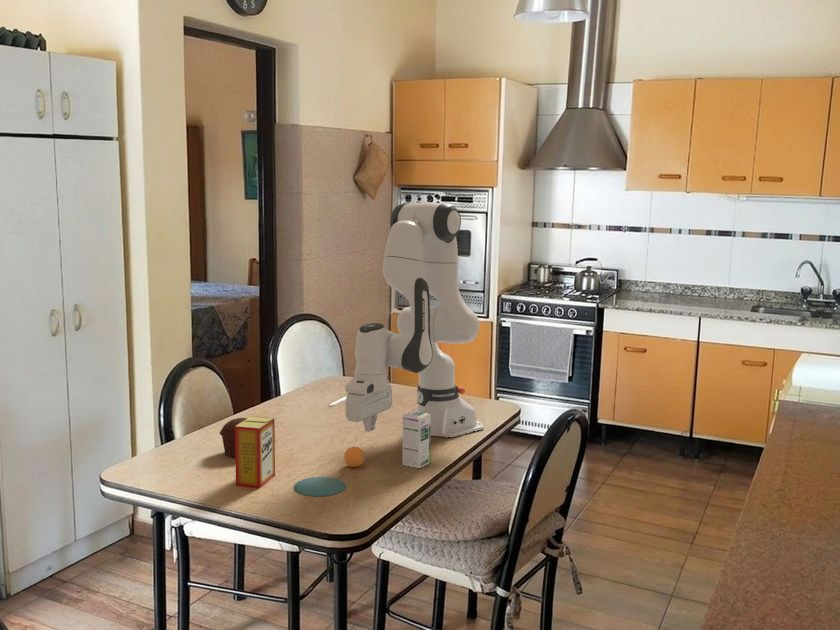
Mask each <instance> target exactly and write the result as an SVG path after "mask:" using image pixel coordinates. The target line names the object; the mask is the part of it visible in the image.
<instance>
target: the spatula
mask: <svg viewBox="0 0 840 630" xmlns="http://www.w3.org/2000/svg"><path fill="white" fill-rule="evenodd" d="M346 397H347V395H345V396H344V397H342V398H340V399H337V400H336V401H334V402H333V401H332V402H330V404H329V407H331V408H332V407H336V406H337V405H340V404H343V403H346ZM342 402H343V403H342Z"/></svg>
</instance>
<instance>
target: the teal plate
mask: <svg viewBox="0 0 840 630" xmlns="http://www.w3.org/2000/svg"><path fill="white" fill-rule="evenodd" d="M346 487H347V486H346V482H344V481H343V480H341V479H339V478H335V477H330V476H314V477H307V478H303V479H301V480H299V481H297V482H295V484H294V486H293V489H294V491H295V492H296V493H298V494H299V495H303V496H308V497H329V496H334V495H337V494H339V493H341V492H343V491H344V490H345V489H346Z"/></svg>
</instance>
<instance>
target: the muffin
mask: <svg viewBox="0 0 840 630" xmlns="http://www.w3.org/2000/svg"><path fill="white" fill-rule="evenodd" d="M248 418H249V417H247V418H245V417H237V418H233V419H230V420H229V421H227V422H226V423H225V424H224V425H223V426H222V428H221V430H220V431H219V434H220V436H221V439H222V443H223V448H224V454H225V457H227V456H228V458H229V459H235V426H236V425H238V424H239V423H241V422H243V421H244V420H246V419H248Z"/></svg>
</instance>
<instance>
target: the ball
mask: <svg viewBox="0 0 840 630" xmlns="http://www.w3.org/2000/svg"><path fill="white" fill-rule="evenodd" d="M343 460H344V463H346V465H347V466H348V467H351V468H357V467H360V466H361V465H362V464H363V463H364V460H365V453H364V451H363V450H362V449H361V448H360V447H357V446H350V447H349V448H348V449H346V450H345V452H344V455H343Z"/></svg>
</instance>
